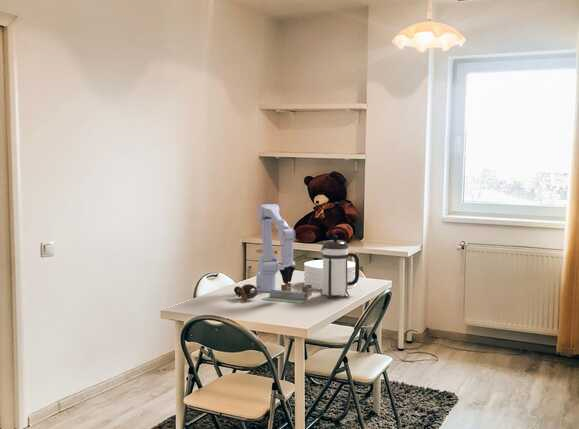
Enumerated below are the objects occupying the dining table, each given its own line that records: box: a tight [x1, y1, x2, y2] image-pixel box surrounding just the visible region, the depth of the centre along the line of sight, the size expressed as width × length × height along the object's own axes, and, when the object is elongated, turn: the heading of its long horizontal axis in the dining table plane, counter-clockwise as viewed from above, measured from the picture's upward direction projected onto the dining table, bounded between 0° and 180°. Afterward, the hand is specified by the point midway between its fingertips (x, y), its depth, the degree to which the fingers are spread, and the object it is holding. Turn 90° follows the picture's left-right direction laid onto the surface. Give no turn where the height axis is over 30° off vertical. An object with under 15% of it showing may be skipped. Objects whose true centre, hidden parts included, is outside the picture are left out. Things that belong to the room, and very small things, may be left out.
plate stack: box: [303, 259, 358, 291], centre depth 335 cm, size 28×28×12 cm
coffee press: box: [319, 234, 360, 300], centre depth 307 cm, size 17×16×30 cm
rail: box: [269, 289, 308, 302], centre depth 299 cm, size 18×3×3 cm
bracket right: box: [301, 285, 313, 298], centre depth 307 cm, size 3×6×5 cm, turn 157°
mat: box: [262, 294, 309, 304], centre depth 299 cm, size 20×8×1 cm, turn 67°
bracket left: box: [280, 282, 292, 291], centre depth 312 cm, size 3×6×5 cm, turn 158°
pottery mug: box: [233, 283, 259, 302], centre depth 299 cm, size 12×10×8 cm
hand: (287, 282), depth 298 cm, fingers open, 3 cm apart
